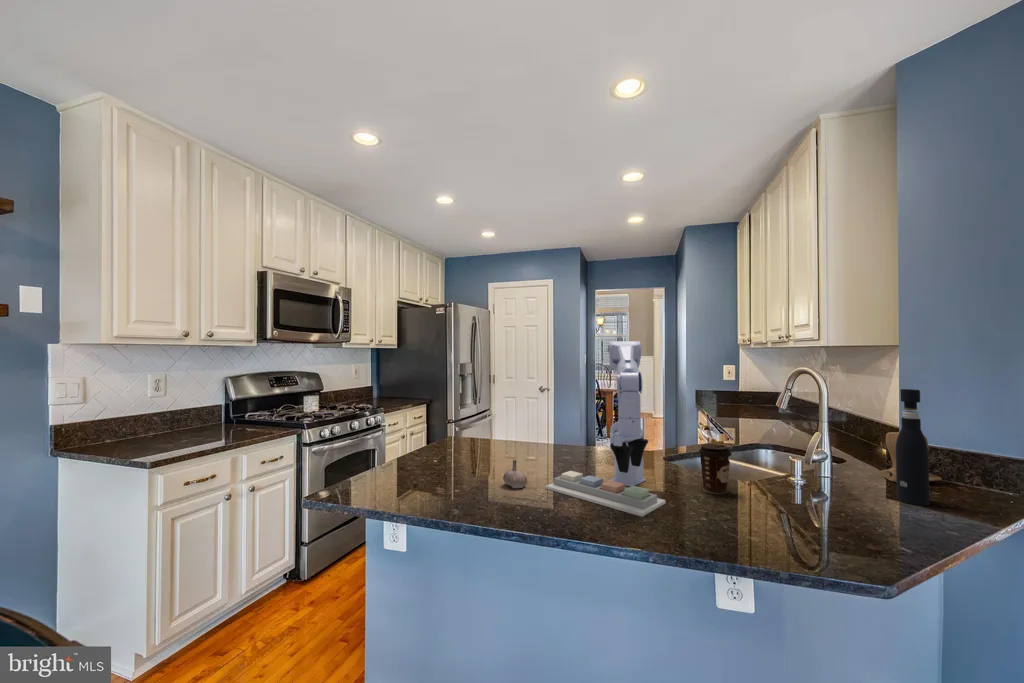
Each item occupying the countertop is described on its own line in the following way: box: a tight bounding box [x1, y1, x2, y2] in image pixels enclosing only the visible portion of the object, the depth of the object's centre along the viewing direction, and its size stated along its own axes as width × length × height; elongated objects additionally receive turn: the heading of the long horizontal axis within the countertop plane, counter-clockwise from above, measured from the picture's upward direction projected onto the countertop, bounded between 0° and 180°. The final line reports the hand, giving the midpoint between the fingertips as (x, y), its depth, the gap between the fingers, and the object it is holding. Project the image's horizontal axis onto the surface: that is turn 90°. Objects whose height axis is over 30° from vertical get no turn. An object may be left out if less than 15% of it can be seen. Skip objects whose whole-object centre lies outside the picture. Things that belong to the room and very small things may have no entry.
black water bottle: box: [895, 388, 931, 507], centre depth 114 cm, size 6×6×30 cm
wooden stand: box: [879, 431, 943, 483], centre depth 133 cm, size 15×12×15 cm
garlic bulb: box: [502, 459, 528, 489], centre depth 128 cm, size 8×7×8 cm
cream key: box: [560, 470, 584, 483], centre depth 127 cm, size 5×5×2 cm
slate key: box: [580, 475, 604, 488], centre depth 122 cm, size 5×5×2 cm
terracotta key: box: [601, 479, 626, 494], centre depth 117 cm, size 5×5×2 cm
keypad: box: [544, 475, 667, 518], centre depth 120 cm, size 13×31×3 cm, turn 45°
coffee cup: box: [698, 443, 732, 495], centre depth 123 cm, size 9×8×13 cm
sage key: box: [624, 485, 650, 500], centre depth 112 cm, size 5×5×2 cm
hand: (629, 468), depth 112 cm, fingers open, 7 cm apart
